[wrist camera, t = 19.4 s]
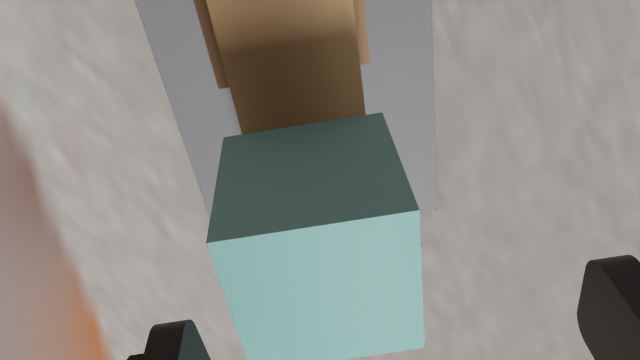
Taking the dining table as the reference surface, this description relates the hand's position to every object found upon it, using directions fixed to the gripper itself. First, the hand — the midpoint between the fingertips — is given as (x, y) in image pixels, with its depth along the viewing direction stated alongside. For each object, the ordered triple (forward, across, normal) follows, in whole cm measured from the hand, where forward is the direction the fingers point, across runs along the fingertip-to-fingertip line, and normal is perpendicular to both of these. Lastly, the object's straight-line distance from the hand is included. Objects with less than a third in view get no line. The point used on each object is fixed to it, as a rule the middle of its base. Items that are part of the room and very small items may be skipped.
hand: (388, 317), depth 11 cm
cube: (+6, +1, +1) cm, 6 cm away
